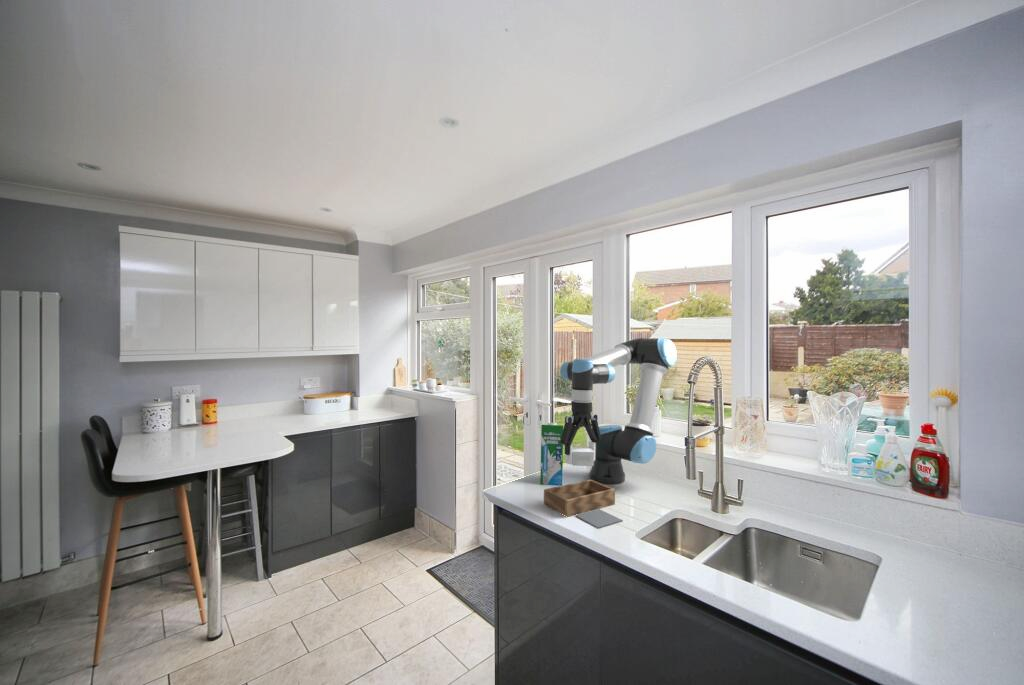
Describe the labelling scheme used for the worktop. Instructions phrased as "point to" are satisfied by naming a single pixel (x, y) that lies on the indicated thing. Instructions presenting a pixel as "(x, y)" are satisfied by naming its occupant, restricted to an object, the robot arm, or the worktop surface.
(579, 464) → the small box
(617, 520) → the rubber pad
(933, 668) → the worktop surface
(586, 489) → the walnut frame
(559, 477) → the milk carton
